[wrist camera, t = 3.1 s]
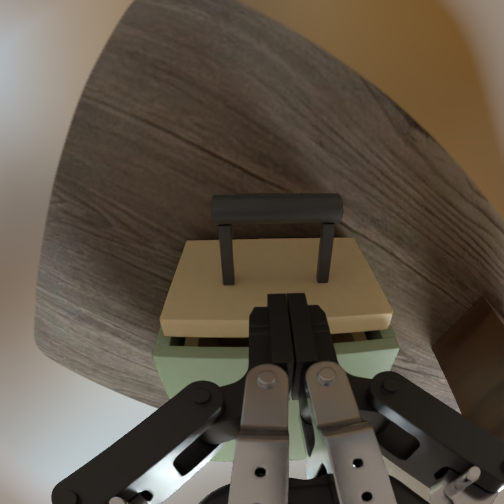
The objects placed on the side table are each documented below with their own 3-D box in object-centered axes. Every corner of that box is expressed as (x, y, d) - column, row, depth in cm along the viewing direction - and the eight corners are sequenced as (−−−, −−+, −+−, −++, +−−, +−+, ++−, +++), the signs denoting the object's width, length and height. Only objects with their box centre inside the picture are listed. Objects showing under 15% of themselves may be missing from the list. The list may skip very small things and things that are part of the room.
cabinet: (183, 255, 23) (151, 355, 14) (354, 251, 22) (400, 347, 14) (206, 376, 30) (197, 460, 22) (329, 373, 30) (344, 455, 22)
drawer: (178, 170, 18) (136, 226, 12) (361, 168, 18) (418, 221, 12) (208, 367, 28) (199, 439, 21) (329, 363, 28) (343, 434, 21)
